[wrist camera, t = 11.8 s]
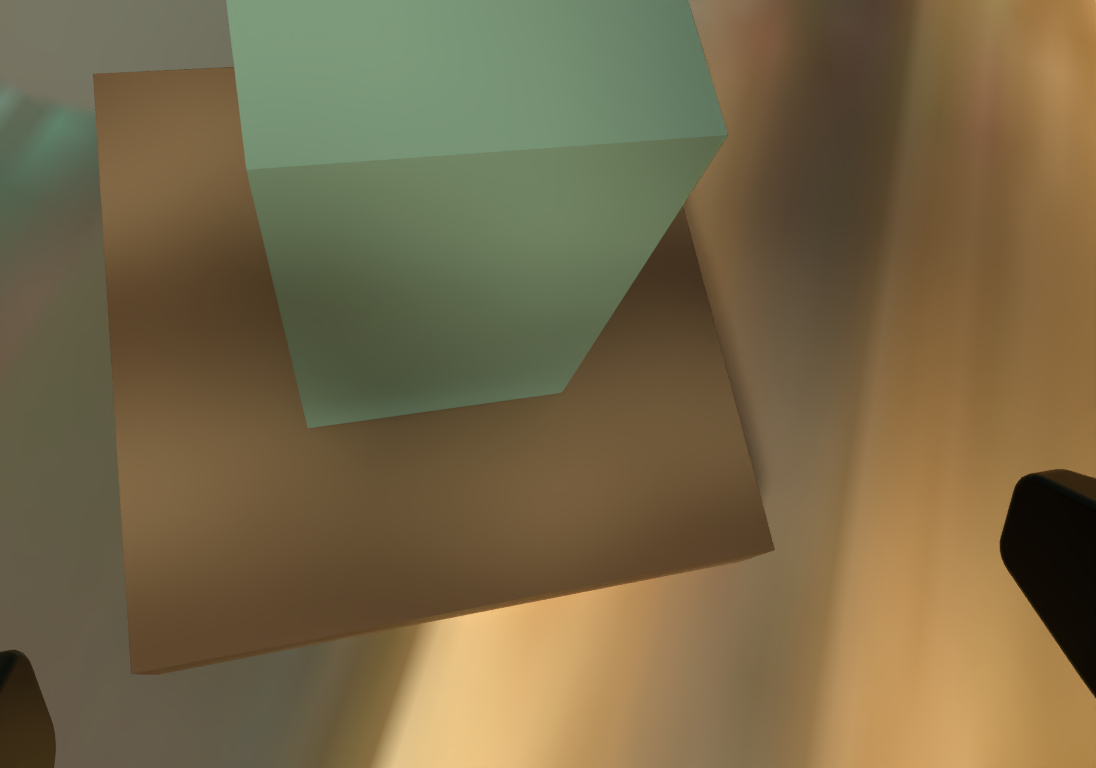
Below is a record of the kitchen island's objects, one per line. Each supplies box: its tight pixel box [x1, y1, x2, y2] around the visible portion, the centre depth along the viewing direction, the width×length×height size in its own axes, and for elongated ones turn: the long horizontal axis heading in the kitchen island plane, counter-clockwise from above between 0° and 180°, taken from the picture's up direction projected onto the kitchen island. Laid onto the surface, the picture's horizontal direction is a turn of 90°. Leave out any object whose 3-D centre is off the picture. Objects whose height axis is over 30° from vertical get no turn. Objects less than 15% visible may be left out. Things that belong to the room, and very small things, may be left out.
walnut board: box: [93, 67, 775, 675], centre depth 19 cm, size 12×12×2 cm
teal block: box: [226, 0, 728, 428], centre depth 14 cm, size 5×5×9 cm
